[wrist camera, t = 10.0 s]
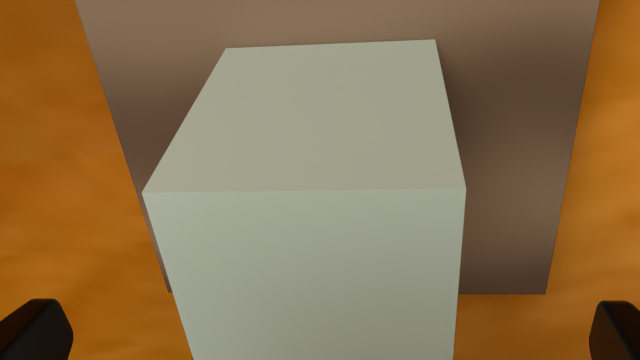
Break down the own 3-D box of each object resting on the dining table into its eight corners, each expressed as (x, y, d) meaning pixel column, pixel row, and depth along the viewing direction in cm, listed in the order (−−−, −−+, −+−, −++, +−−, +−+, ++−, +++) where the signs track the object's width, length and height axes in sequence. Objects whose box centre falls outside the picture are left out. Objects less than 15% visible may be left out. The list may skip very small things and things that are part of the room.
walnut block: (519, 214, 21) (545, 294, 18) (200, 218, 22) (168, 292, 19) (572, -172, 14) (629, -159, 11) (112, -130, 16) (39, -108, 12)
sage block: (429, 210, 16) (449, 396, 11) (255, 211, 17) (202, 389, 12) (435, 39, 13) (465, 188, 8) (225, 48, 14) (141, 192, 9)
